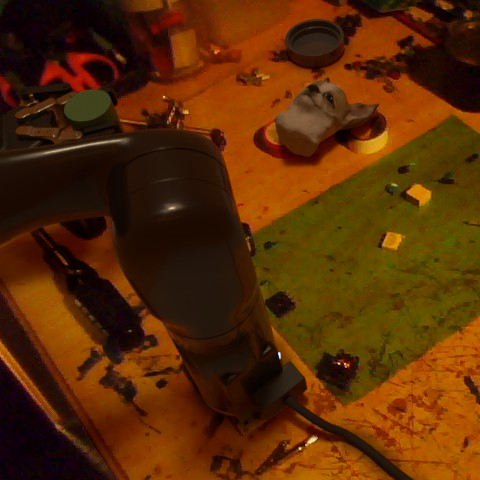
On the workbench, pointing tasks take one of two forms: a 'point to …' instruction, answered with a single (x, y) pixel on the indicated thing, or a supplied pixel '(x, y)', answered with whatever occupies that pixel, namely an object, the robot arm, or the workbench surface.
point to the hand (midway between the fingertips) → (117, 112)
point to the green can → (90, 109)
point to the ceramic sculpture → (318, 117)
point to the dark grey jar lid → (315, 43)
